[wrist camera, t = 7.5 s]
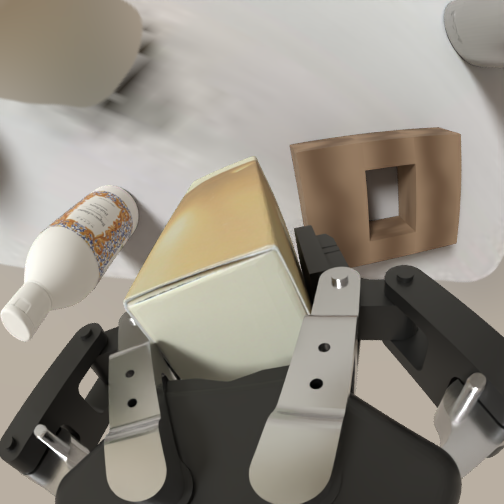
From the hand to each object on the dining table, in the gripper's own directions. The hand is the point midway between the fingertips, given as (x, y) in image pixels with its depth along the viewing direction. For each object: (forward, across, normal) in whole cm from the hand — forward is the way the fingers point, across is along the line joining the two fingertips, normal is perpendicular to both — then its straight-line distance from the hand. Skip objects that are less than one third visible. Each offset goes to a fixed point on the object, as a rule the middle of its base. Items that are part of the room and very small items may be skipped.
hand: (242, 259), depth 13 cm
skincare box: (+7, 0, 0) cm, 7 cm away
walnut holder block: (+19, -14, +6) cm, 25 cm away
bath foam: (+20, +16, +1) cm, 26 cm away
